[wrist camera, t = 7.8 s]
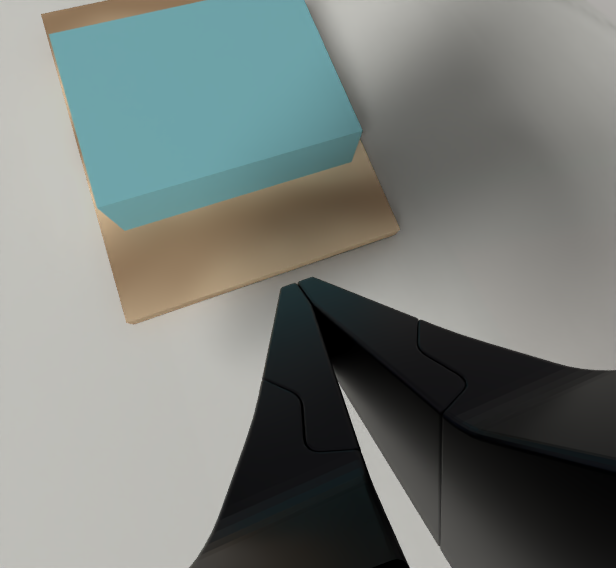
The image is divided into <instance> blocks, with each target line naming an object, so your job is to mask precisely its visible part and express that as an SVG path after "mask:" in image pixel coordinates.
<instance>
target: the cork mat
mask: <svg viewBox="0 0 616 568" xmlns="http://www.w3.org/2000/svg"><path fill="white" fill-rule="evenodd" d="M200 1H205V0H107V1H102V2H97V3H93V4H88V5H83V6H78V7H73V8H69V9H64V10H59V11H54V12H49V13H45V14H41V16H42V19H43V23H44V27H45V30H46V34H47V37H48V41H49V45H50V48H51V52H52V55H53V59H54V63H55V66H56V70H57V74H58V77H59V81H60V84H61V88H62V92H63V95H64V99H65V102H66V106H67V110H68V113H69V117H70V120H71V124H72V128H73V131H74V135H75V139H76V142H77V146H78V149H79V153H80V157H81V160H82V164H83V167H84V171H85V175H86V178H87V182H88V185H89V189H90V193H91V196H92V200H93V203H94V207H95V211H96V214H97V218H98V222H99V225H100V229H101V232H102V236H103V240H104V243H105V247H106V250H107V254H108V258H109V261H110V265H111V268H112V272H113V276H114V279H115V283H116V287H117V290H118V294H119V297H120V301H121V305H122V308H123V312H124V315H125V319H126V323H130V324H136V323H139V322H142V321H145V320H148V319H151V318H154V317H157V316H160V315H163V314H165V313H168V312H171V311H174V310H177V309H180V308H183V307H186V306H189V305H192V304H195V303H197V302H200V301H203V300H206V299H209V298H212V297H215V296H218V295H221V294H224V293H227V292H229V291H232V290H235V289H238V288H241V287H244V286H247V285H250V284H253V283H256V282H259V281H261V280H264V279H267V278H270V277H273V276H276V275H279V274H282V273H285V272H288V271H291V270H294V269H296V268H299V267H302V266H305V265H308V264H311V263H314V262H317V261H320V260H323V259H326V258H328V257H331V256H334V255H337V254H340V253H343V252H346V251H349V250H352V249H355V248H358V247H360V246H363V245H366V244H369V243H372V242H375V241H378V240H381V239H384V238H387V237H390V236H392V235H395V234H396V233H397V232H398V231H399V230H400V228H399V225H398V223H397V221H396V219H395V216H394V214H393V212H392V210H391V207H390V205H389V203H388V201H387V198H386V196H385V194H384V192H383V189H382V187H381V185H380V183H379V180H378V178H377V176H376V174H375V171H374V169H373V167H372V165H371V162H370V160H369V158H368V156H367V153H366V151H365V149H364V147H363V144H362V142H361V140H359V142H358V145H357V148H356V151H355V154H354V156H353V159H352V162H350V163H346V164H343V165H340V166H337V167H333V168H330V169H327V170H323V171H320V172H317V173H314V174H310V175H307V176H304V177H300V178H297V179H294V180H290V181H287V182H284V183H281V184H277V185H274V186H271V187H267V188H264V189H261V190H258V191H254V192H251V193H248V194H244V195H241V196H238V197H235V198H231V199H228V200H225V201H221V202H218V203H215V204H212V205H208V206H205V207H202V208H198V209H195V210H192V211H188V212H185V213H182V214H179V215H175V216H172V217H169V218H165V219H162V220H159V221H156V222H152V223H149V224H146V225H142V226H139V227H136V228H133V229H129V230H126V231H124V230H123V229H122V228H120V227H119V226H118V225H117V224H116V223H114V222H113V221H112V220H111V219H110V218H108V217H107V216H106V215H105V214H104V213H102V212H101V211H100V210H99V209H98V208H97V206H96V202H95V199H94V195H93V192H92V188H91V184H90V181H89V177H88V174H87V170H86V166H85V163H84V159H83V156H82V152H81V148H80V145H79V141H78V138H77V134H76V131H75V127H74V123H73V120H72V116H71V113H70V109H69V105H68V102H67V98H66V95H65V91H64V87H63V84H62V80H61V77H60V73H59V69H58V66H57V62H56V59H55V55H54V51H53V48H52V44H51V41H50V37H49V34H52V33H57V32H61V31H66V30H71V29H75V28H80V27H84V26H89V25H94V24H98V23H103V22H108V21H112V20H117V19H121V18H126V17H131V16H135V15H140V14H144V13H149V12H154V11H158V10H163V9H168V8H172V7H177V6H181V5H186V4H191V3H195V2H200Z"/></svg>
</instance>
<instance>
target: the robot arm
mask: <svg viewBox="0 0 616 568" xmlns="http://www.w3.org/2000/svg"><path fill="white" fill-rule="evenodd" d="M338 382H339V383H338ZM339 384H340V386H341V387H342V389H343V390H344V392H345V394H346V395H347V397H348V399H349V400H350V402H351V404H352V405H353V407H354V408H355V410H356V412H357V413H358V415H359V417H360V418H361V420H362V422H363V423H364V425H365V426H366V428H367V430H368V431H369V433H370V435H371V436H372V438H373V440H374V441H375V443H376V444H377V446H378V448H379V449H380V451H381V453H382V454H383V456H384V457H385V459H386V461H387V462H388V464H389V466H390V467H391V469H392V471H393V472H394V474H395V475H396V477H397V479H398V480H399V482H400V484H401V485H402V487H403V489H404V490H405V492H406V493H407V495H408V497H409V498H410V500H411V502H412V503H413V505H414V507H415V508H416V510H417V511H418V513H419V515H420V516H421V518H422V520H423V521H424V523H425V525H426V526H427V528H428V529H429V531H430V533H431V534H432V536H433V538H434V539H435V541H436V543H437V544H438V545H439V546H440V549H441V551H442V553H443V554H444V556H445V558H446V559H447V561H448V562H449V564H450V566H451V567H452V568H616V370H588V369H580V368H574V367H569V366H565V365H561V364H557V363H554V362H550V361H547V360H543V359H540V358H537V357H533V356H530V355H527V354H523V353H520V352H516V351H513V350H510V349H506V348H503V347H500V346H496V345H493V344H490V343H486V342H483V341H480V340H477V339H474V338H470V337H467V336H464V335H461V334H458V333H455V332H452V331H450V330H447V329H444V328H442V327H439V326H436V325H434V324H431V323H429V322H426V321H423V320H418V318H416V317H413V316H410V315H408V314H405V313H403V312H400V311H398V310H395V309H393V308H390V307H388V306H385V305H383V304H380V303H378V302H375V301H373V300H370V299H368V298H365V297H362V296H360V295H357V294H355V293H352V292H350V291H347V290H345V289H342V288H340V287H337V286H335V285H332V284H330V283H327V282H325V281H322V280H320V279H317V278H314V277H310V278H307V279H304V280H302V281H299V282H298V284H296V283H293V284H290V285H287V286H285V287H282V288H281V290H280V294H279V299H278V304H277V309H276V314H275V319H274V324H273V329H272V333H271V338H270V343H269V348H268V353H267V358H266V363H265V368H264V373H263V377H262V382H261V386H260V391H259V396H258V400H257V404H256V408H255V412H254V416H253V420H252V423H251V426H250V429H249V432H248V435H247V438H246V441H245V444H244V447H243V450H242V453H241V455H240V458H239V461H238V464H237V467H236V469H235V472H234V475H233V478H232V480H231V483H230V486H229V489H228V492H227V494H226V497H225V500H224V503H223V506H222V508H221V511H220V514H219V516H218V519H217V522H216V524H215V526H214V528H213V531H212V533H211V535H210V537H209V539H208V540H207V542H206V544H205V546H204V548H203V549H202V551H201V552H200V554H199V555H198V557H197V559H196V560H195V561H194V562H193V564H192V565H191V566H190V567H189V568H409V565H408V563H407V561H406V559H405V556H404V554H403V552H402V550H401V547H400V545H399V543H398V540H397V538H396V536H395V534H394V531H393V529H392V527H391V525H390V522H389V520H388V518H387V516H386V513H385V511H384V509H383V506H382V504H381V502H380V500H379V497H378V495H377V493H376V490H375V488H374V486H373V483H372V480H371V478H370V475H369V472H368V470H367V467H366V464H365V461H364V458H363V455H362V453H361V449H360V446H359V443H358V440H357V437H356V434H355V431H354V428H353V425H352V422H351V419H350V416H349V413H348V410H347V407H346V404H345V401H344V398H343V395H342V392H341V389H340V386H339Z"/></svg>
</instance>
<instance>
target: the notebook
mask: <svg viewBox="0 0 616 568" xmlns="http://www.w3.org/2000/svg"><path fill="white" fill-rule="evenodd" d="M49 37H50V41H51V44H52V48H53V51H54V55H55V59H56V62H57V66H58V69H59V73H60V77H61V80H62V84H63V87H64V91H65V95H66V98H67V102H68V105H69V109H70V113H71V116H72V120H73V123H74V127H75V131H76V134H77V138H78V141H79V145H80V148H81V152H82V156H83V159H84V163H85V166H86V170H87V174H88V177H89V181H90V184H91V188H92V192H93V195H94V199H95V202H96V206H97V208H98V209H99V210H100V211H101V212H102V213H104V214H105V215H106V216H107V217H108V218H110V219H111V220H112V221H113V222H114V223H116V224H117V225H118V226H119V227H120V228H122V229H123V230H124V231H126V230H129V229H133V228H136V227H139V226H142V225H146V224H149V223H152V222H156V221H159V220H162V219H165V218H169V217H172V216H175V215H179V214H182V213H185V212H188V211H192V210H195V209H198V208H202V207H205V206H208V205H212V204H215V203H218V202H221V201H225V200H228V199H231V198H235V197H238V196H241V195H244V194H248V193H251V192H254V191H258V190H261V189H264V188H267V187H271V186H274V185H277V184H281V183H284V182H287V181H290V180H294V179H297V178H300V177H304V176H307V175H310V174H314V173H317V172H320V171H323V170H327V169H330V168H333V167H337V166H340V165H343V164H346V163H350V162H352V159H353V156H354V154H355V151H356V148H357V145H358V142H359V140H360V137H361V134H362V131H363V130H362V128H361V126H360V124H359V121H358V119H357V117H356V115H355V113H354V110H353V108H352V106H351V104H350V101H349V99H348V97H347V95H346V92H345V90H344V88H343V86H342V84H341V81H340V79H339V77H338V75H337V72H336V70H335V68H334V66H333V64H332V61H331V59H330V57H329V55H328V52H327V50H326V48H325V46H324V43H323V41H322V39H321V37H320V35H319V32H318V30H317V28H316V26H315V23H314V21H313V19H312V17H311V15H310V12H309V10H308V8H307V6H306V3H305V1H304V0H205V1H200V2H195V3H191V4H186V5H181V6H177V7H172V8H168V9H163V10H158V11H154V12H149V13H144V14H140V15H135V16H131V17H126V18H121V19H117V20H112V21H108V22H103V23H98V24H94V25H89V26H84V27H80V28H75V29H71V30H66V31H61V32H57V33H52V34H49Z"/></svg>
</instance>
